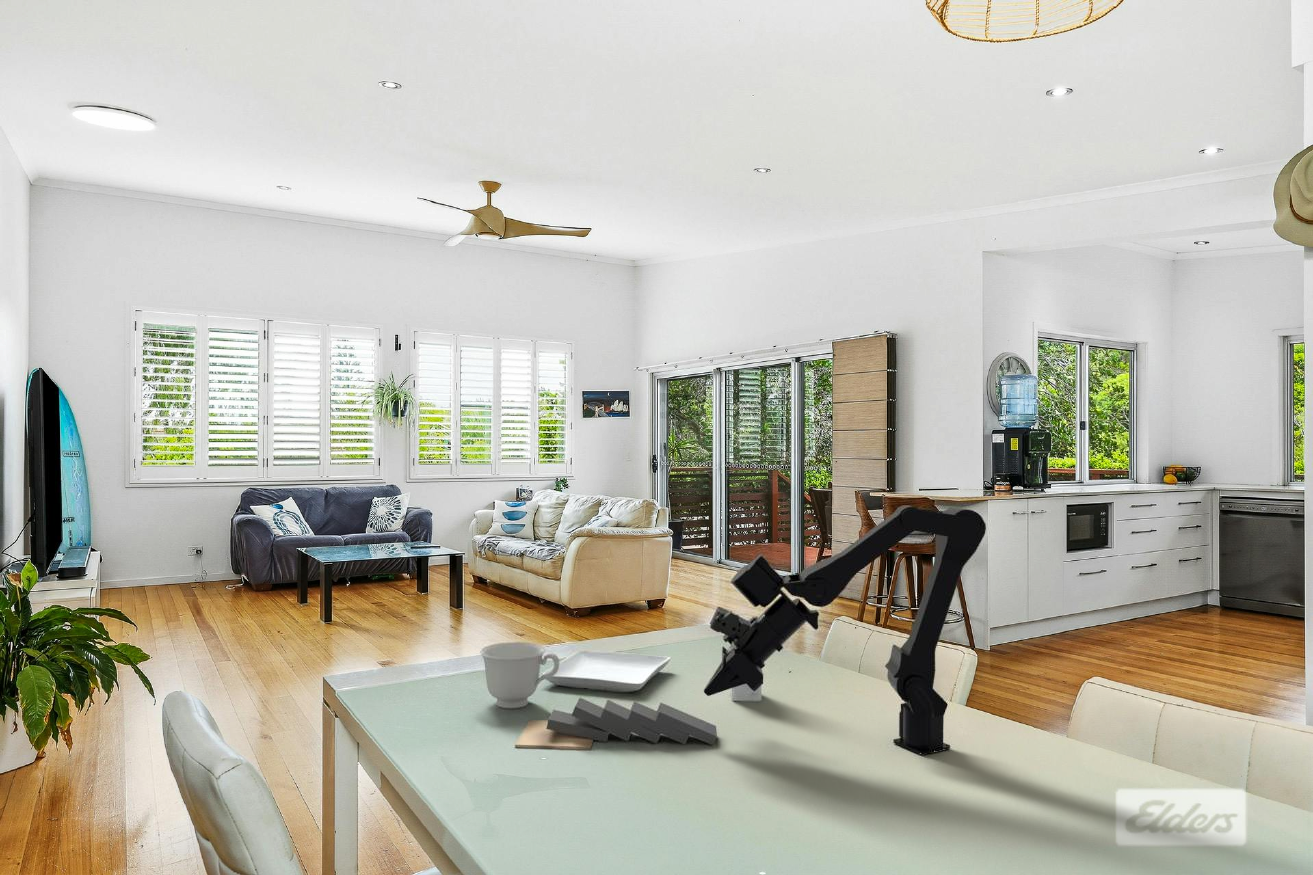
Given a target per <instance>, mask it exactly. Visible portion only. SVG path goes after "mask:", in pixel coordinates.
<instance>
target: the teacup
mask: <svg viewBox="0 0 1313 875" xmlns="http://www.w3.org/2000/svg"><path fill="white" fill-rule="evenodd" d="M546 652H547V650H546V648H545V647H544V646H543V645H541V644H537V643H533V642H532V643H531V642H521V641H519V642H518V641H517V642H501V643H494V644H489V645H487V646H484V647H483V648H481V650H479V654H480V655H481V656H482V658H483V662H484V670H485V681H486V686H487V691H488V692H489V694H490V695H491V696H492V697H493V698H495V699H496V706H497V707H500V708H501V709H502V708H503V709H520V708H522V707H525V706H527V705H528V704H529V701H528V698H529V697H531V696H533V695H534V694H535V692H536V690H537V689H538V688H537V687H538V685H539V684H540V683H541V682H542V681H544V680H546V679H547V678H550V677H552V676H554V675H555V674H556V672H557V671H558V669H559V662H560V658H559V656H558V655H557V654H556V653H554V652H547V653H546ZM544 653H546V654H545V655H544ZM548 659H551V660H552V661H553V666H554V668H553V670H552V671H551V672H549V673H547V674H545V675H543V676H540V671H541V670H540V669H541V665H542V666H545V665H546V663H547V660H548Z"/></svg>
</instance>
